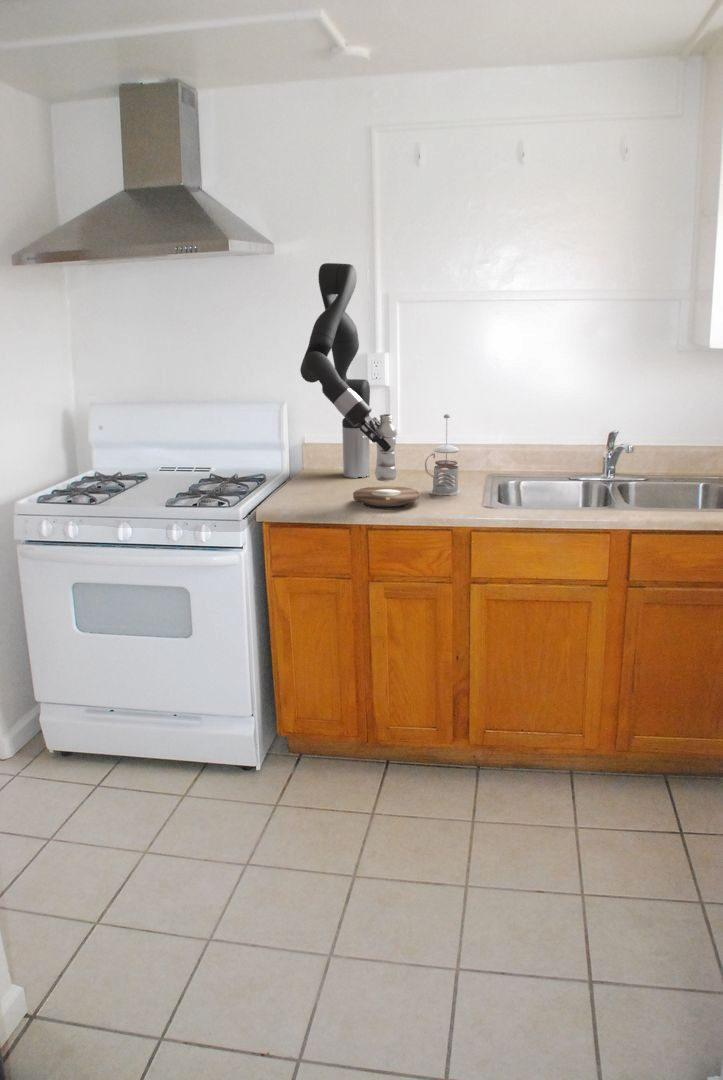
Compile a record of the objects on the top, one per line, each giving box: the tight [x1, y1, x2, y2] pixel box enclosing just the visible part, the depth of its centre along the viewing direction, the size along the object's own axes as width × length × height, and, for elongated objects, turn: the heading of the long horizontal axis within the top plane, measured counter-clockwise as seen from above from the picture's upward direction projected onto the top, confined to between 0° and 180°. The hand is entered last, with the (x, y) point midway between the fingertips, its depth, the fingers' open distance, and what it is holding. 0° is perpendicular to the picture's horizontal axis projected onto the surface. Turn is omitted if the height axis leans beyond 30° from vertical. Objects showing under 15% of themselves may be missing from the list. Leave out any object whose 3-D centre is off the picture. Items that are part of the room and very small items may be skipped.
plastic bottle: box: [374, 413, 397, 483], centre depth 265 cm, size 6×7×20 cm
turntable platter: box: [352, 485, 420, 505], centre depth 269 cm, size 20×20×1 cm
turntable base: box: [362, 503, 410, 510], centre depth 269 cm, size 14×14×2 cm
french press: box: [424, 413, 461, 496], centre depth 280 cm, size 10×12×25 cm
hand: (391, 447), depth 265 cm, fingers closed on plastic bottle, 6 cm apart
